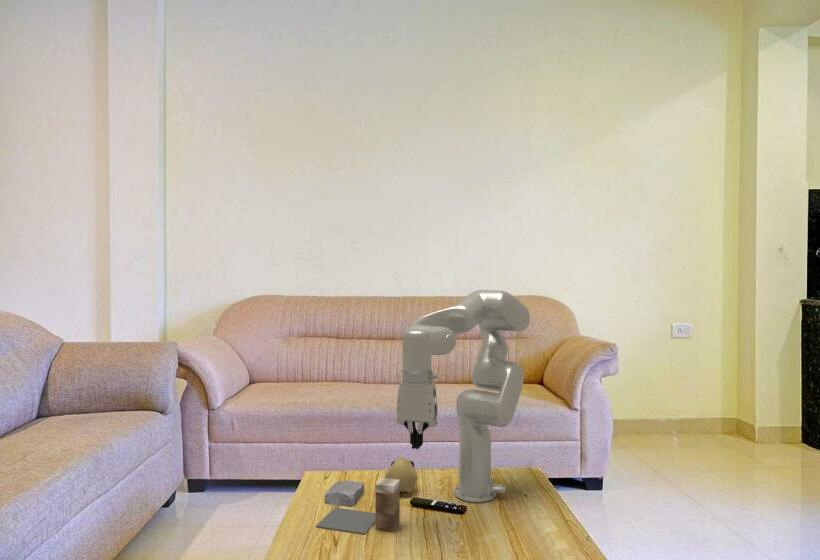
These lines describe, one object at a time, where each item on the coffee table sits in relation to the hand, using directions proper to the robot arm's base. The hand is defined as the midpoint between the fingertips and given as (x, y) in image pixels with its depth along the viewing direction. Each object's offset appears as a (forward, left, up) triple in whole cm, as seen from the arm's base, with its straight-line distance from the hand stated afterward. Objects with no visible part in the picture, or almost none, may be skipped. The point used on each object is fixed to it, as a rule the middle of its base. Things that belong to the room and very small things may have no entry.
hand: (416, 447), depth 148 cm
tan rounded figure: (+12, -24, -22) cm, 35 cm away
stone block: (+27, -14, -22) cm, 38 cm away
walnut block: (+8, 0, -22) cm, 24 cm away
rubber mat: (+19, 0, -22) cm, 29 cm away
